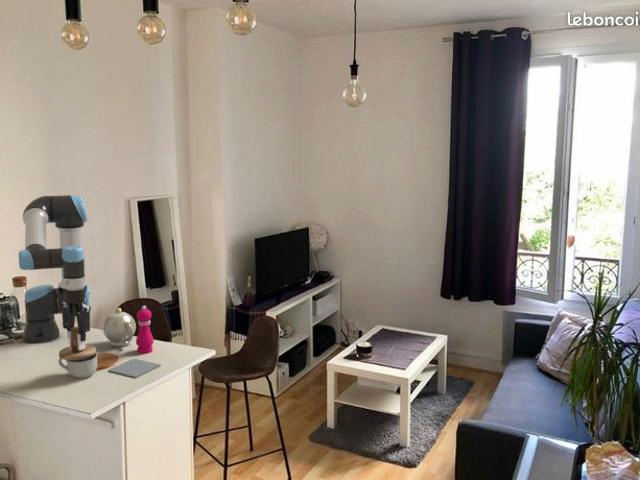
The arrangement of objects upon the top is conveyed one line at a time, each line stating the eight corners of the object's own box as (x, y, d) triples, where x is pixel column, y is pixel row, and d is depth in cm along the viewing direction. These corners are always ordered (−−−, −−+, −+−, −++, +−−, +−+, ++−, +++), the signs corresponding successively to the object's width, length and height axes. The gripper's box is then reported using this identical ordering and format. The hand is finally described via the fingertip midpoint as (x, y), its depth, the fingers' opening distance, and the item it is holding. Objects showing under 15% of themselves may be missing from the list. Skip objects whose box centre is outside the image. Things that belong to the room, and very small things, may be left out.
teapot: (97, 343, 258) (95, 307, 255) (125, 336, 268) (124, 302, 265) (118, 354, 246) (116, 316, 243) (146, 346, 256) (145, 310, 253)
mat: (108, 371, 228) (108, 369, 228) (133, 359, 240) (133, 358, 240) (135, 378, 222) (135, 376, 222) (160, 366, 234) (160, 364, 234)
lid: (51, 356, 219) (49, 330, 218) (79, 345, 231) (78, 320, 229) (76, 362, 214) (74, 335, 212) (103, 351, 225) (102, 326, 223)
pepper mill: (132, 352, 248) (131, 306, 245) (143, 347, 255) (142, 302, 252) (146, 355, 246) (145, 309, 242) (157, 349, 252) (156, 304, 249)
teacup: (102, 370, 228) (102, 351, 227) (89, 382, 217) (88, 361, 216) (68, 368, 229) (67, 349, 228) (53, 379, 219) (52, 359, 217)
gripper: (49, 287, 218) (53, 347, 222) (83, 293, 211) (86, 355, 215) (66, 283, 225) (69, 341, 229) (99, 288, 218) (101, 348, 222)
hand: (77, 348), depth 222 cm, fingers closed on lid, 4 cm apart
